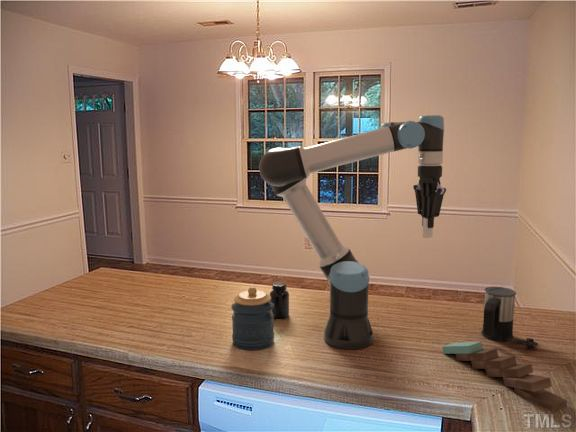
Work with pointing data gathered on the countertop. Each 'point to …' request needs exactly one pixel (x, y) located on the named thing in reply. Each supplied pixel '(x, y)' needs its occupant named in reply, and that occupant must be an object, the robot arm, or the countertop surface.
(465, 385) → the countertop surface
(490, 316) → the milk frother
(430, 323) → the countertop surface
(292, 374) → the countertop surface
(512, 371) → the domino
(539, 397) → the domino
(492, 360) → the domino
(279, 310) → the supplement bottle
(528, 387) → the domino
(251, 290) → the canister
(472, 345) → the domino
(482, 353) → the domino
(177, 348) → the countertop surface
